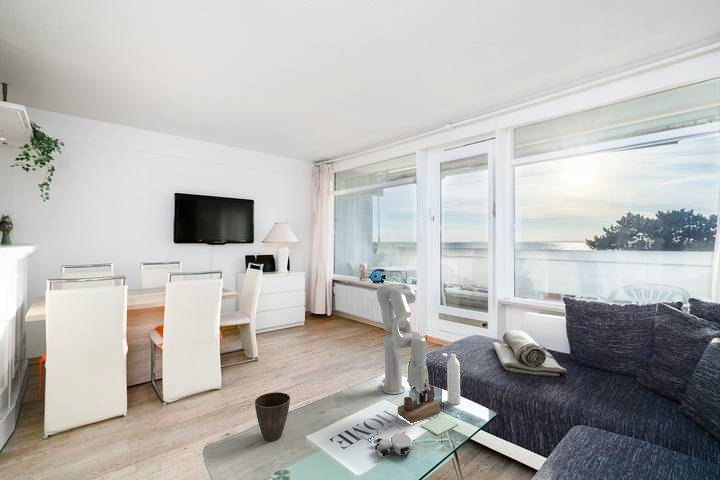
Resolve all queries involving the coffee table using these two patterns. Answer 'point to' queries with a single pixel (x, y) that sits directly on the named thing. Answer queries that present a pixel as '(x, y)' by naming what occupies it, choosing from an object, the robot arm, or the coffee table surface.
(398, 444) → the toy panda
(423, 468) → the coffee table surface
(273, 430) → the plant pot
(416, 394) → the grey rectangular block
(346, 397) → the coffee table surface
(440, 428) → the mat
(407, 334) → the robot arm
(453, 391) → the water bottle
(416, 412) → the plane body
